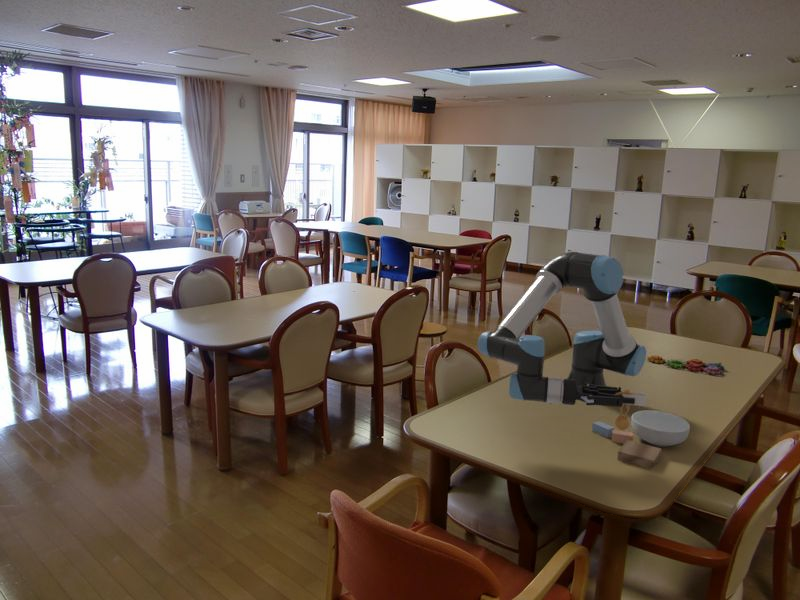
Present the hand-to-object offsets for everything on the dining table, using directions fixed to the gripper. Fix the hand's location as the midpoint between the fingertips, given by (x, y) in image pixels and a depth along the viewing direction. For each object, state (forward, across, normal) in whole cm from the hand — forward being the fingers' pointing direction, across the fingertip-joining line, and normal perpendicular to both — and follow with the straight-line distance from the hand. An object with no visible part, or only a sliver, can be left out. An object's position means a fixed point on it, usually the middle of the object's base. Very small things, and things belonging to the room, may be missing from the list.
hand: (645, 399), depth 182 cm
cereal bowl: (+8, -14, -18) cm, 24 cm away
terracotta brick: (-3, -10, -18) cm, 21 cm away
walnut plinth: (0, +1, -18) cm, 18 cm away
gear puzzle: (+35, -102, -19) cm, 110 cm away
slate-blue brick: (-9, -15, -18) cm, 25 cm away
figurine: (-6, 0, -10) cm, 11 cm away
